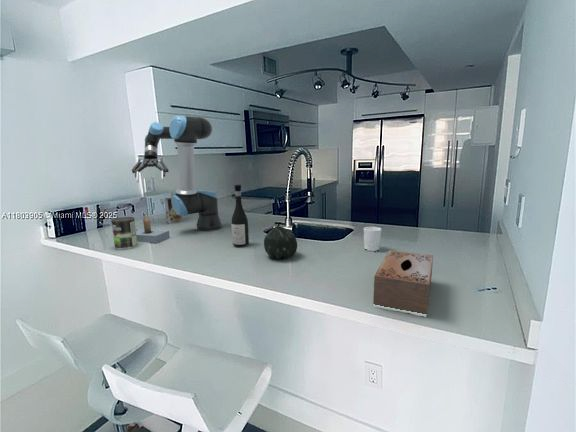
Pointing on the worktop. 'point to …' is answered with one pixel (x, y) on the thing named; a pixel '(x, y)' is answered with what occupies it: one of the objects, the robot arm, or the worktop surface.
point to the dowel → (147, 225)
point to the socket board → (152, 236)
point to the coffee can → (124, 233)
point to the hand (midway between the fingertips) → (150, 180)
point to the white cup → (372, 238)
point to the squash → (280, 243)
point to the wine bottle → (239, 222)
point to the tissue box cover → (404, 281)
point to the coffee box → (171, 212)
